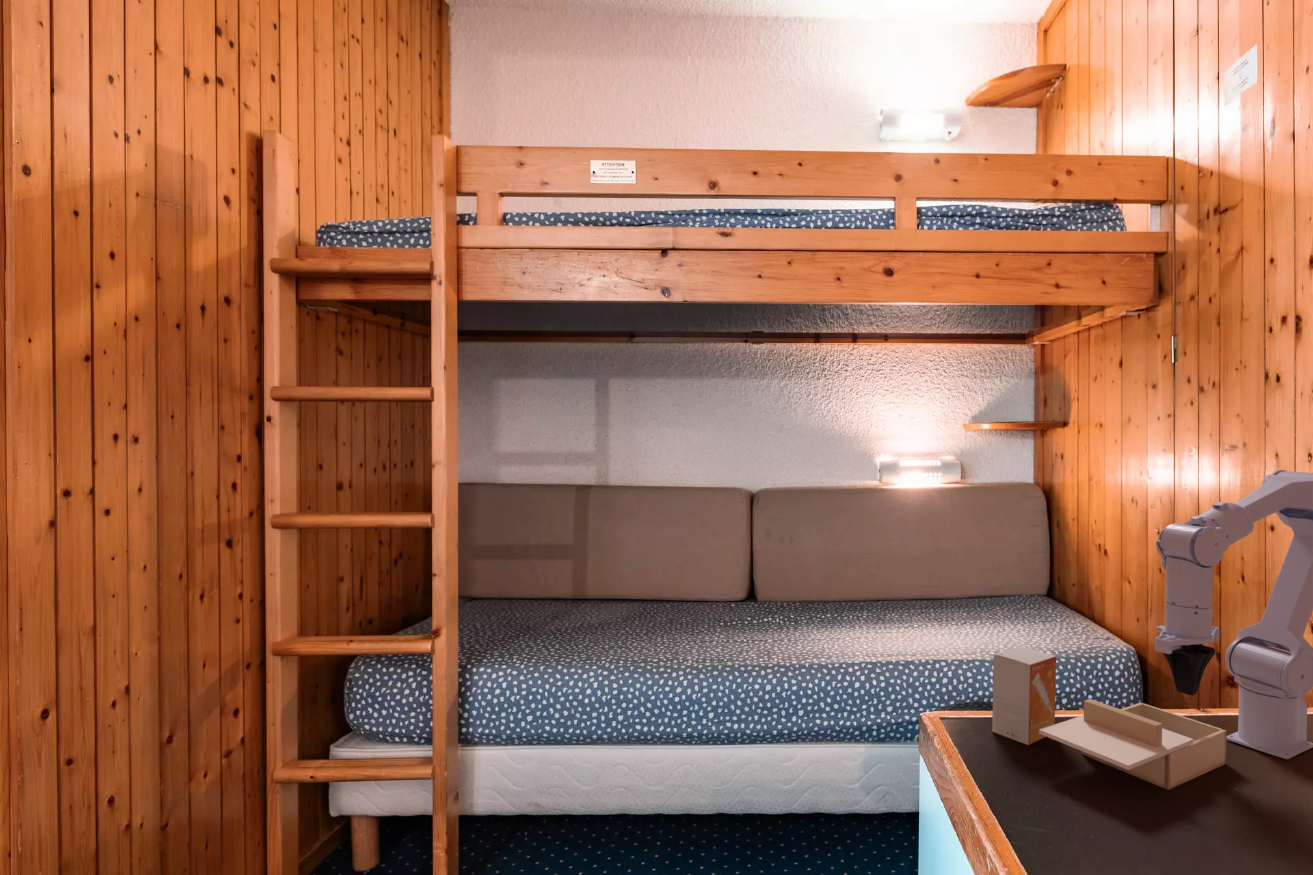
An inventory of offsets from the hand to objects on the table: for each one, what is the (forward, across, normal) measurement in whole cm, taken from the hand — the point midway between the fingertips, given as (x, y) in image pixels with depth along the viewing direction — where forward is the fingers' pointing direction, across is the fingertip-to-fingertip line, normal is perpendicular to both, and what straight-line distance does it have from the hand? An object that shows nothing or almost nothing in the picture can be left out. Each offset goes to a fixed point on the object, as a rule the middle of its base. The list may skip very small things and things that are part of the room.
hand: (1186, 692), depth 109 cm
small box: (+10, +14, -17) cm, 24 cm away
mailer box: (+10, +5, -2) cm, 11 cm away
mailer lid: (+5, +15, -2) cm, 16 cm away
